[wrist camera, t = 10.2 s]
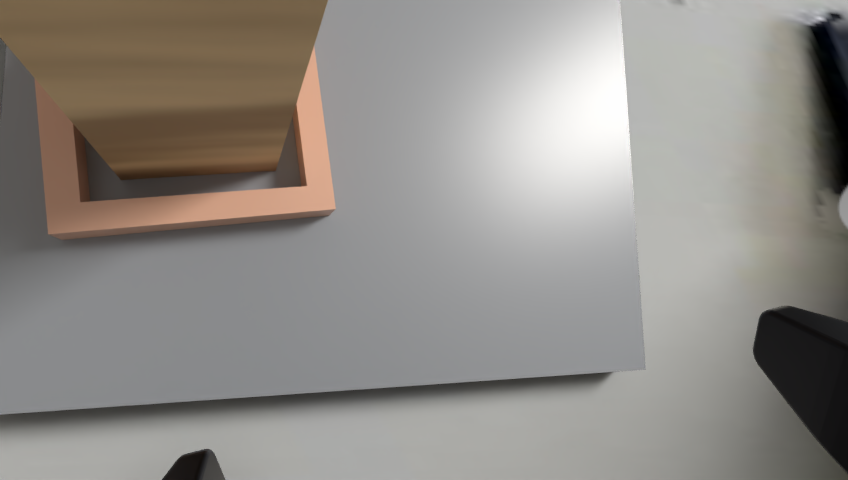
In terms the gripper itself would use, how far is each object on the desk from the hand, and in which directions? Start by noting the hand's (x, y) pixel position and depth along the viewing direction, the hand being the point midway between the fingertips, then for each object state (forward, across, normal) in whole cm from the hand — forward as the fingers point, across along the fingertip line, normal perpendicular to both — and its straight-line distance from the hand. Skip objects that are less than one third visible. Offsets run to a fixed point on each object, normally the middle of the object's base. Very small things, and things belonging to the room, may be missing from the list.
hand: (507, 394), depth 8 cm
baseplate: (+13, +1, 0) cm, 13 cm away
